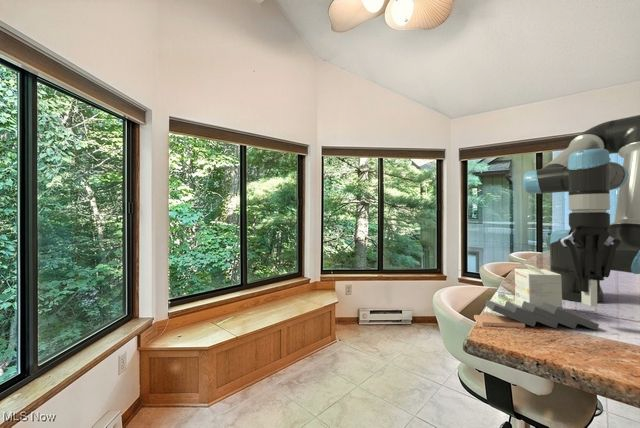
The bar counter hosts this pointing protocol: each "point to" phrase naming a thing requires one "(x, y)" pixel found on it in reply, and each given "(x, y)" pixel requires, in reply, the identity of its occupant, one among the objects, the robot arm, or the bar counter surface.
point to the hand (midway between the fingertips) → (589, 304)
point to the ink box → (538, 287)
